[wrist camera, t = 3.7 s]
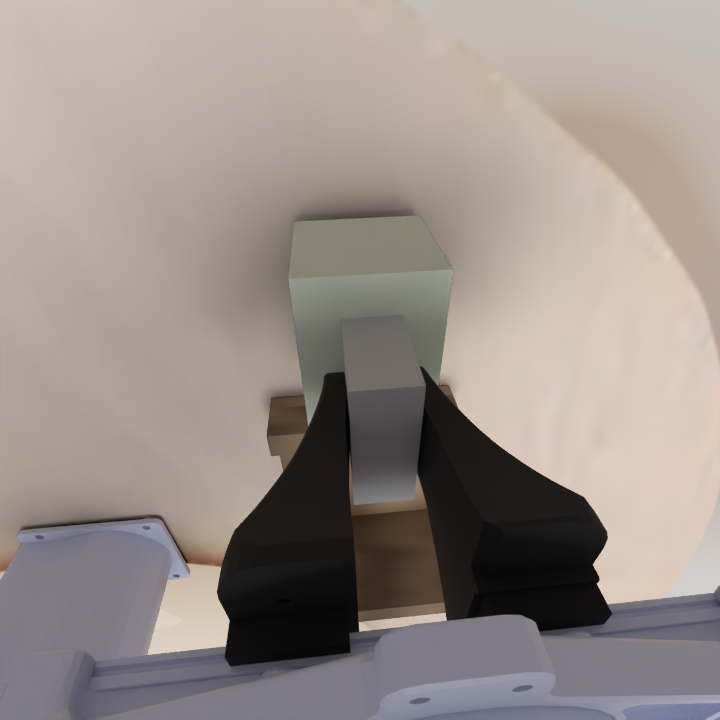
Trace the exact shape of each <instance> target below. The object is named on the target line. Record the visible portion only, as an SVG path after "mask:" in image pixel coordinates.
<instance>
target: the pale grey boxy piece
mask: <svg viewBox="0 0 720 720" xmlns="http://www.w3.org/2000/svg"><path fill="white" fill-rule="evenodd" d="M453 270H454V269H453V268H452V266H451V265H450V263H449V261H448V260H447V258H446V257H445V255H444V253H443V252H442V250H441V249H440V247H439V245H438V244H437V242H436V240H435V239H434V237H433V236H432V234H431V232H430V231H429V229H428V228H427V226H426V224H425V223H424V221H423V220H422V218H421V216H420V215H415V216H395V217H374V218H354V219H334V220H314V221H294V228H293V237H292V247H291V256H290V266H289V276H288V282H289V289H290V296H291V304H292V311H293V318H294V325H295V333H296V340H297V347H298V354H299V362H300V369H301V376H302V384H303V391H304V398H305V405H306V413H307V420H308V426H309V424H310V422H311V420H312V417H313V415H314V412H315V409H316V407H317V404H318V401H319V398H320V395H321V391H322V387H323V382H324V376H325V375H326V374H327V373H336V372H345V380H346V389H347V406H348V426H349V445H350V467H351V479H352V490H353V501H354V505H359V504H370V503H381V502H392V501H403V500H414V495H415V485H416V476H417V467H418V457H419V448H420V438H421V429H422V419H423V410H424V400H425V391H426V384H425V381H424V378H423V375H422V372H421V369H420V366H422V367H423V368H424V369H425V370H426V371H427V372H428V374H429V375H430V376H431V378H432V379H433V380H434V381H435V383H436V384H437V385H439V378H440V370H441V362H442V355H443V347H444V339H445V331H446V324H447V316H448V308H449V301H450V293H451V285H452V278H453Z"/></svg>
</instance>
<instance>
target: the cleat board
mask: <svg viewBox="0 0 720 720" xmlns="http://www.w3.org/2000/svg"><path fill="white" fill-rule="evenodd" d="M439 388H440V389H441V390H442V391H443V392H444V394H445V395H446V396H447V397H448V398H449V399H450V400H451V401H452V402H453V404H454V405H455V406H456V407H457V404H456V402H455V399H454V397H453V394H452V392H451V389H450V387H449V385H446V386H439ZM457 408H458V407H457ZM307 428H308V420H307V413H306V405H305V398H304V396H297V397H283V398H271V405H270V413H269V421H268V430H267V440H268V445H269V449H270V453H271V456H278V455H280V458H281V462H282V467H283V471H284V469H285V468H286V466H287V465H288V463H289V462H290V460H291V459H292V457H293V455H294V453H295V452H296V450H297V448H298V446H299V445H300V443H301V441H302V439H303V437H304V435H305V433H306V430H307ZM349 493H350V504H351V515H352V526H353V537H354V549H355V562H356V581H357V600H358V622H362V621H372V620H381V619H390V618H400V617H409V616H419V615H428V614H437V613H446V611H445V605H444V598H443V592H442V586H441V580H440V575H439V569H438V563H437V557H436V552H435V547H434V541H433V536H432V531H431V526H430V521H429V516H428V511H427V506H426V502H425V498H424V494H423V490H422V487H421V484H420V481H419V477H418V474H417V476H416V485H415V495H414V500H403V501H392V502H381V503H370V504H359V505H354V501H353V490H352V479H351V467H349Z"/></svg>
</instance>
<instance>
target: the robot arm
mask: <svg viewBox="0 0 720 720" xmlns="http://www.w3.org/2000/svg"><path fill="white" fill-rule="evenodd" d="M420 369H421V372H422V375H423V378H424V381H425V384H426V391H425V400H424V410H423V419H422V429H421V438H420V448H419V457H418V467H417V474H418V477H419V481H420V484H421V487H422V490H423V494H424V498H425V502H426V506H427V511H428V516H429V521H430V526H431V531H432V536H433V541H434V547H435V552H436V557H437V563H438V569H439V575H440V580H441V586H442V592H443V598H444V605H445V611H446V617H447V621H442V622H433V623H424V624H415V625H410V626H405V627H399V628H389V629H380V630H371V631H363V632H359V622H358V600H357V581H356V562H355V549H354V537H353V526H352V515H351V504H350V493H349V467H350V445H349V426H348V406H347V389H346V380H345V372H336V373H327V374H326V375H325V376H324V382H323V387H322V391H321V395H320V398H319V401H318V404H317V407H316V409H315V412H314V415H313V417H312V420H311V422H310V424H309V426H308V428H307V430H306V433H305V435H304V437H303V439H302V441H301V443H300V445H299V446H298V448H297V450H296V452H295V453H294V455H293V457H292V459H291V460H290V462H289V463H288V465H287V466H286V468H285V469H284V471H283V473H282V474H281V475H280V477H279V478H278V480H277V481H276V483H275V484H274V485H273V486H272V488H271V489H270V490H269V492H268V493H267V494H266V495H265V497H264V498H263V499H262V500H261V502H260V503H259V504H258V505H257V507H256V508H255V509H254V510H253V511H252V512H251V513H250V514H249V515H248V516H247V518H246V519H245V520H244V521H243V522H242V523H241V524H240V525H239V526H238V527H237V528H236V529H235V531H234V533H233V535H232V538H231V540H230V543H229V545H228V548H227V551H226V553H225V557H224V560H223V563H222V567H221V572H220V578H219V583H218V589H217V594H218V598H219V601H220V603H221V604H222V606H223V608H224V610H225V612H226V614H227V616H228V618H229V620H230V623H229V630H228V638H227V644H226V647H217V648H208V649H199V650H190V651H180V652H171V653H162V654H153V655H147V654H148V649H149V646H150V643H151V639H152V635H153V632H154V628H155V624H156V621H157V617H158V613H159V610H160V606H161V602H162V599H163V595H164V591H165V587H166V584H167V580H169V579H179V578H186V577H188V576H189V574H190V569H189V567H188V566H187V564H186V562H185V560H184V559H183V557H182V555H181V553H180V551H179V550H178V548H177V546H176V544H175V543H174V541H173V539H172V537H171V536H170V534H169V532H168V530H167V529H166V527H165V525H164V523H163V522H162V521H161V520H160V519H157V518H151V519H139V520H128V521H117V522H106V523H95V524H83V525H72V526H61V527H50V528H38V529H27V530H21V531H19V532H18V534H17V536H16V538H17V540H18V541H19V542H20V543H21V546H20V547H19V549H18V551H17V553H16V554H15V556H14V558H13V559H12V561H11V563H10V565H9V566H8V568H7V570H6V571H5V573H4V575H3V577H2V578H1V580H0V720H720V586H718V588H717V589H716V590H715V592H714V593H709V594H699V595H690V596H681V597H672V598H663V599H653V600H644V601H635V602H626V603H617V604H608V605H607V603H606V601H605V599H604V597H603V595H602V593H601V591H600V589H599V588H598V586H597V584H596V583H598V582H599V576H598V574H597V572H596V570H595V568H594V566H593V563H594V562H595V560H596V559H597V557H598V556H599V554H600V553H601V551H602V550H603V548H604V546H605V544H606V541H607V539H608V537H607V531H606V529H605V528H604V526H603V524H602V523H601V521H600V519H599V518H598V516H597V515H596V513H595V511H594V510H593V509H592V507H591V506H590V505H589V503H588V502H587V501H586V499H585V498H584V497H583V496H581V495H579V494H577V493H575V492H573V491H571V490H569V489H567V488H565V487H563V486H561V485H559V484H557V483H555V482H553V481H552V480H550V479H548V478H547V477H545V476H543V475H541V474H540V473H538V472H536V471H535V470H533V469H532V468H530V467H528V466H527V465H525V464H524V463H522V462H521V461H519V460H518V459H517V458H515V457H514V456H512V455H511V454H509V453H508V452H506V451H505V450H504V449H502V448H501V447H500V446H498V445H497V444H496V443H495V442H493V441H492V440H491V439H490V438H489V437H487V436H486V435H485V434H484V433H483V432H482V431H481V430H479V429H478V428H477V427H476V426H475V425H474V424H473V423H472V422H471V421H470V420H469V419H468V418H467V417H466V416H465V415H464V414H463V413H462V412H461V411H460V410H459V409H458V408H457V407H456V406H455V405H454V404H453V402H452V401H451V400H450V399H449V398H448V397H447V396H446V395H445V394H444V392H443V391H442V390H441V389H440V388H439V386H438V385H437V384H436V383H435V381H434V380H433V379H432V378H431V376H430V375H429V374H428V372H427V371H426V370H425V369H424V368H423V367H422V366H420Z"/></svg>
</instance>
